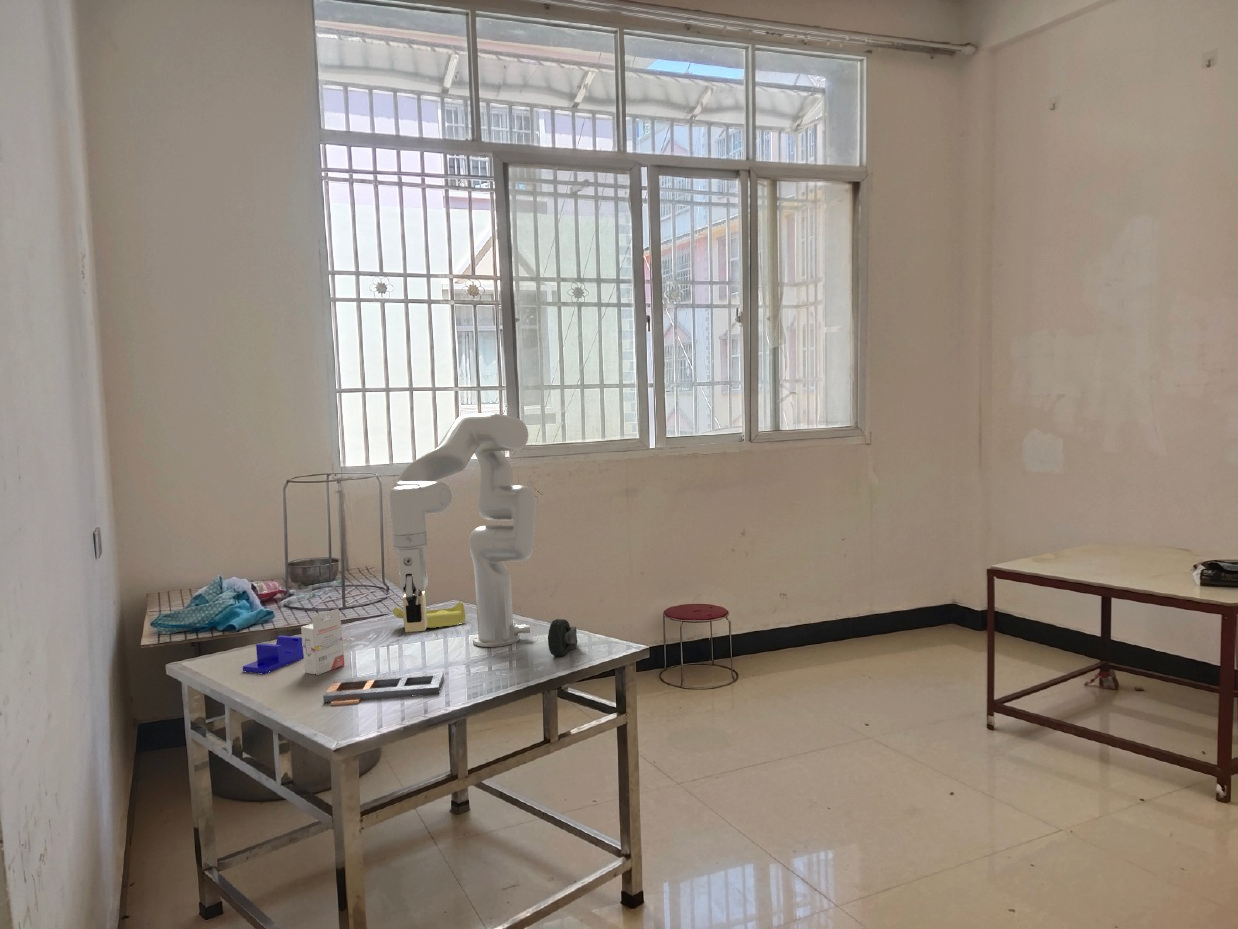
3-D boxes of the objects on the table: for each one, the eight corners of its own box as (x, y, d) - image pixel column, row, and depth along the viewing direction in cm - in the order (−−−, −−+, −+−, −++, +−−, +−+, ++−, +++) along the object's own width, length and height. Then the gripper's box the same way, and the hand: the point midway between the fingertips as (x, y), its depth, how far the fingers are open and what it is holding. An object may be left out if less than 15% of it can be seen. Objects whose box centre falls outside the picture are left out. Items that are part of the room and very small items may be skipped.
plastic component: (454, 608, 257) (463, 599, 249) (457, 632, 254) (467, 624, 246) (389, 614, 247) (397, 605, 239) (391, 638, 245) (399, 630, 237)
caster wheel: (565, 664, 207) (584, 641, 222) (562, 627, 206) (581, 606, 220) (544, 663, 209) (564, 640, 223) (541, 626, 207) (561, 605, 222)
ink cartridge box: (332, 662, 214) (327, 606, 213) (345, 665, 212) (341, 608, 210) (303, 673, 207) (299, 614, 206) (316, 675, 204) (312, 616, 203)
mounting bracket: (295, 652, 227) (293, 630, 226) (316, 654, 224) (314, 632, 224) (243, 673, 210) (241, 650, 210) (265, 675, 207) (263, 652, 207)
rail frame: (444, 678, 198) (443, 671, 198) (437, 697, 185) (437, 690, 185) (335, 686, 195) (335, 679, 195) (321, 706, 183) (320, 699, 182)
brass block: (427, 625, 194) (425, 591, 193) (425, 630, 189) (422, 595, 189) (408, 626, 193) (405, 592, 192) (405, 632, 189) (402, 597, 188)
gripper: (421, 546, 181) (427, 628, 183) (431, 532, 198) (436, 608, 200) (386, 548, 181) (392, 631, 182) (399, 535, 197) (404, 610, 199)
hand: (415, 618), depth 191 cm, fingers closed on brass block, 4 cm apart
